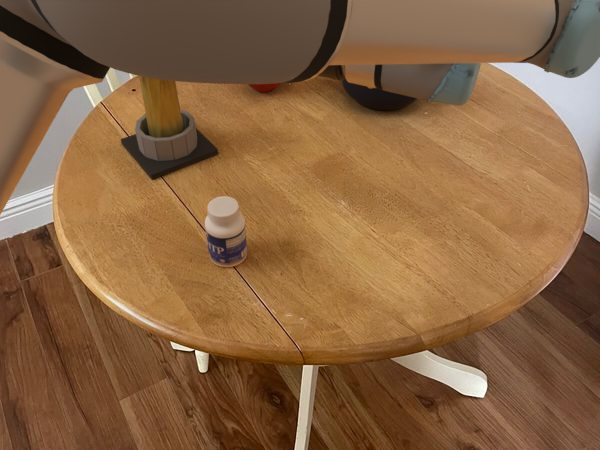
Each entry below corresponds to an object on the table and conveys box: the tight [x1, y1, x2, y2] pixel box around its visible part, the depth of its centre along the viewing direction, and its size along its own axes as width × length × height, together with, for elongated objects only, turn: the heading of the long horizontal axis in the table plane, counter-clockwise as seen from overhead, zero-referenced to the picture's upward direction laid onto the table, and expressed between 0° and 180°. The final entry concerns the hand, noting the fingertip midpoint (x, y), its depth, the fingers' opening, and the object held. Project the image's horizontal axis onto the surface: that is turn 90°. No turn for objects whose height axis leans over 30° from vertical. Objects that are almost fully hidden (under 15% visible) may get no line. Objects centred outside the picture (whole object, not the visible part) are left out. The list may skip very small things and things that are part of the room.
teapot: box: [341, 79, 419, 111], centre depth 107 cm, size 25×16×12 cm, turn 70°
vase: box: [138, 76, 185, 138], centre depth 93 cm, size 6×6×14 cm
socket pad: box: [120, 109, 219, 181], centre depth 96 cm, size 12×12×5 cm
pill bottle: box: [204, 195, 248, 268], centre depth 77 cm, size 5×5×9 cm
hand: (203, 20), depth 79 cm, fingers open, 13 cm apart
